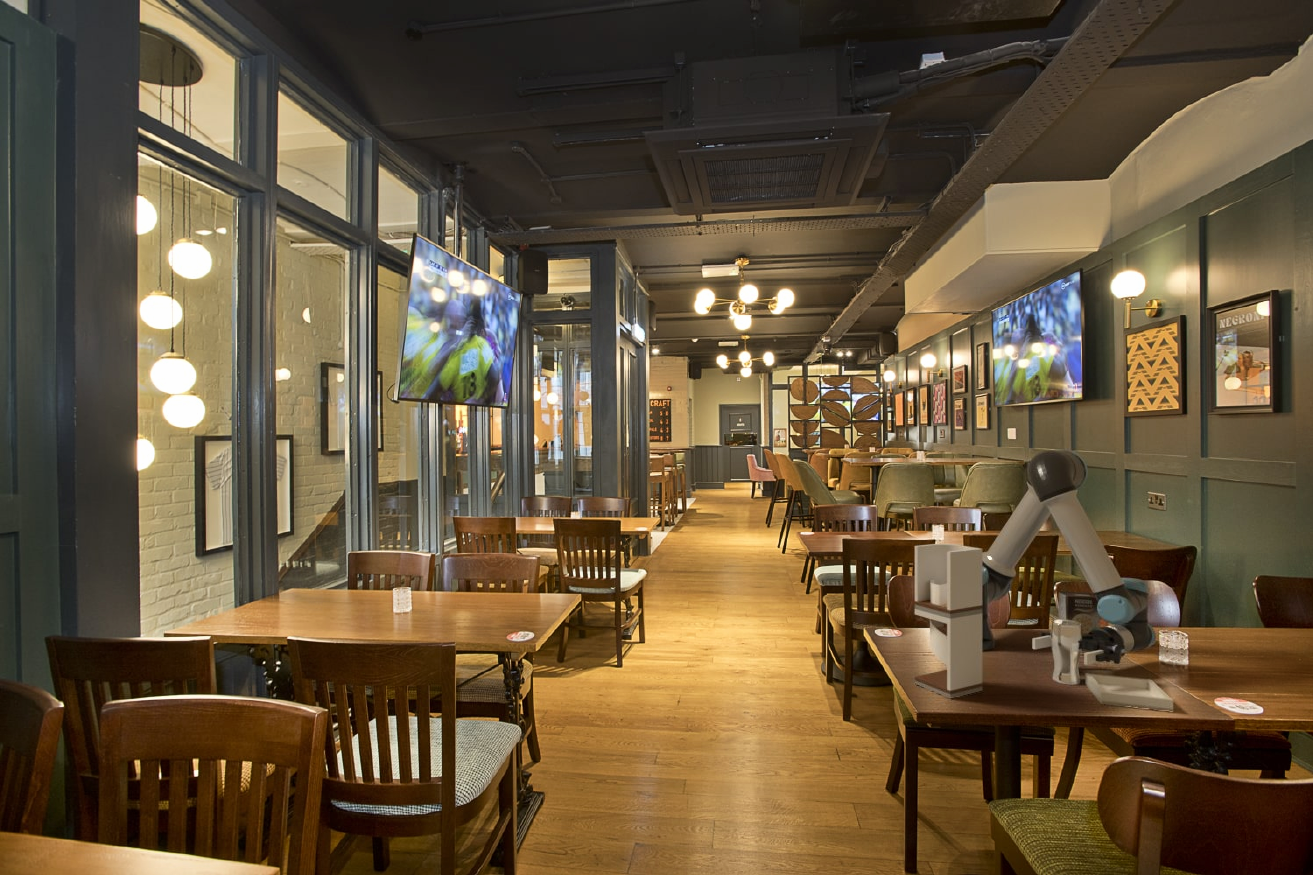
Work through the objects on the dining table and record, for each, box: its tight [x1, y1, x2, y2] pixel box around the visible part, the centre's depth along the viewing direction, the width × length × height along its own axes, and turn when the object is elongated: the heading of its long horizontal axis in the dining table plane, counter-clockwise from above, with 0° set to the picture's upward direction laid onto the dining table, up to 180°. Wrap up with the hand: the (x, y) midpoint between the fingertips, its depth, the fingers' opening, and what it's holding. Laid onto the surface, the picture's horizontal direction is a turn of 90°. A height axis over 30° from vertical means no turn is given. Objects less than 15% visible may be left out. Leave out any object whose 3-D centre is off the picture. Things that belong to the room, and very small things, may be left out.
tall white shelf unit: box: [914, 542, 983, 698], centre depth 167 cm, size 11×11×35 cm
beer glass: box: [1050, 618, 1082, 686], centre depth 172 cm, size 7×7×15 cm
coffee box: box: [1057, 590, 1101, 652], centre depth 200 cm, size 9×6×16 cm
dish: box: [1084, 672, 1174, 712], centre depth 161 cm, size 14×14×3 cm
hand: (1058, 651), depth 171 cm, fingers open, 13 cm apart
